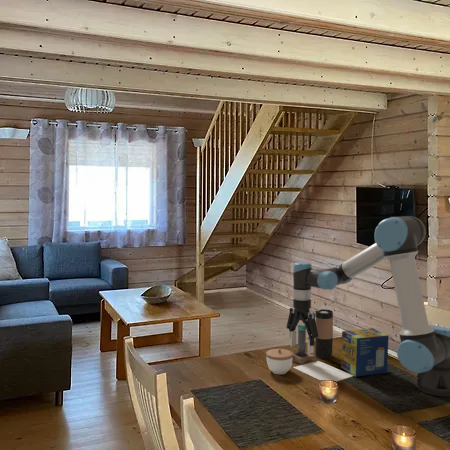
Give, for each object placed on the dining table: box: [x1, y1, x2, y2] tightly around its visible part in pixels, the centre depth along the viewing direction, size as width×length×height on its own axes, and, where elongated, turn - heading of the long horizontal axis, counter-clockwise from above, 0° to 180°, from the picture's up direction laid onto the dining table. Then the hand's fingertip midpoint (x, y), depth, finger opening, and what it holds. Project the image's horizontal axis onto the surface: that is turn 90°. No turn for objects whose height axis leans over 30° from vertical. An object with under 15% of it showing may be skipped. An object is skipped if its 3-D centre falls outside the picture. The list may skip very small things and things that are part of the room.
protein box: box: [340, 328, 389, 377], centre depth 198 cm, size 10×15×16 cm
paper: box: [293, 360, 354, 383], centre depth 197 cm, size 20×14×1 cm
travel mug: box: [314, 308, 334, 359], centre depth 216 cm, size 8×8×20 cm
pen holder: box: [292, 351, 316, 366], centre depth 211 cm, size 8×8×2 cm
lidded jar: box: [265, 348, 294, 375], centre depth 198 cm, size 11×11×9 cm
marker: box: [297, 324, 307, 357], centre depth 210 cm, size 3×3×15 cm
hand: (301, 349), depth 211 cm, fingers open, 10 cm apart
